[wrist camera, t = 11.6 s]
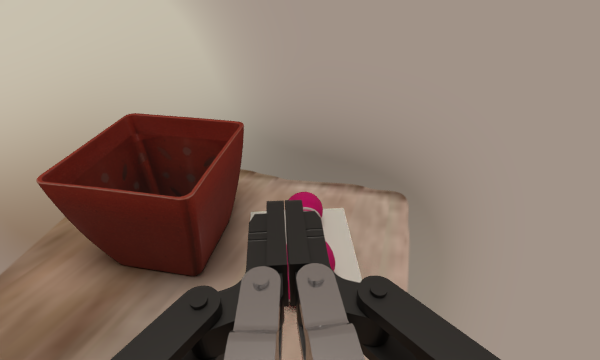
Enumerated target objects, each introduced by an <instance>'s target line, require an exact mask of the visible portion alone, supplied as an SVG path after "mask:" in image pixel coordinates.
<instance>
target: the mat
mask: <svg viewBox="0 0 600 360" xmlns="http://www.w3.org/2000/svg"><path fill="white" fill-rule="evenodd" d="M265 213H267V211H262V212H251V217H250V221H251V219H252V217H253V216H254V214H265ZM284 216H285V211H284ZM321 221H322V226H323V231H324V237H325V241H326V242H327V243H328V245H329V246H330V248H331V249H332V251H333V254H334V257H335V270H334V272H335V273H336V274H337V275H338V276H340V277H341V278H343V279H346V280H350V281H354V282H359V283H360V282H361V281H362V278H361V274H360V270H359V266H358V262H357V258H356V255H355V251H354V247H353V243H352V239H351V235H350V231H349V227H348V224H347V220H346V216H345V212H344V208H331V209H323V214H322V218H321ZM285 233H286V217H285ZM286 244H287V241H286ZM289 302H290V300H289Z"/></svg>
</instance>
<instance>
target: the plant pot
mask: <svg viewBox="0 0 600 360" xmlns="http://www.w3.org/2000/svg"><path fill="white" fill-rule="evenodd" d="M243 133H244V125H243V123H241V122H235V121H225V120H214V119H202V118H189V117H176V116H162V115H149V114H136V113H135V114H129V115H126V116H124V117H123V118H121V119H120V120H118V121H117V122H115V123H114V124H113V125H111V126H110V127H108V128H107V129H105V130H104V131H103V132H101V133H100V134H99V135H97V136H96V137H94V138H93V139H91V140H90V141H88V142H87V143H86V144H84V145H83V146H81V147H80V148H79V149H77V150H76V151H74V152H73V153H72V154H70V155H69V156H67V157H66V158H64V159H63V160H61V161H60V162H59V163H57V164H56V165H55V166H53V167H52V168H50V169H49V170H47V171H46V172H44V173H43V174H42V175H40V176H39V177H38V178H37V183H38V184H39V185H40V187H41V188H42V189H43V190H44V192H45V193H46V195H47V196H48V197H49V198H50V199H51V200H52V202H53V203H54V204H55V205H56V206H57V207H58V209H59V210H60V211H61V212H62V213H63V214H64V215H65V217H66V218H67V219H68V220H69V221H70V222H71V223H72V224H73V225H74V226H75V227H76V228H77V229H78V230H79V231H80V232H81V233H83V234H84V235H85V236H86V237H87V238H88V239H89V240H90V241H91V242H93V243H94V244H95V245H96V246H97V247H99V248H100V249H101V250H102V251H104V252H105V253H106V254H108V255H109V256H110V257H111V258H113V259H114V260H116V261H117V262H119V263H120V264H122V265H127V266H134V267H140V268H146V269H152V270H158V271H165V272H171V273H177V274H183V275H190V276H195V275H198V274H200V273H201V272H202V270H203V269H204V267H205V265H206V263H207V261H208V259H209V257H210V256H211V254H212V252H213V250H214V248H215V246H216V244H217V243H218V241H219V239H220V237H221V235H222V233H223V231H224V230H225V228H226V226H227V224H228V222H229V219H230V216H231V212H232V208H233V204H234V200H235V195H236V191H237V185H238V180H239V174H240V167H241V158H242V148H243Z"/></svg>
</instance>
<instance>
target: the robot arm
mask: <svg viewBox="0 0 600 360" xmlns="http://www.w3.org/2000/svg"><path fill="white" fill-rule="evenodd" d="M285 217H286V233H285ZM286 241H287V249H286ZM287 257H288V266H287ZM288 273H289V289H290V304H291V306H296V312H297V329H298V335H299V341H300V347H301V354H302V360H365V359H364V356H363V354H364V355H365V356H366V357H367V358H368V359H369V360H500V359H499V358H498V357H496V356H495V355H493V354H492V353H491V352H489V351H488V350H486V349H485V348H484V347H482V346H481V345H479V344H478V343H477V342H475V341H474V340H472V339H471V338H469V337H468V336H467V335H465V334H464V333H463V332H461V331H460V330H458V329H457V328H456V327H454V326H453V325H451V324H450V323H449V322H447V321H446V320H444V319H443V318H442V317H440V316H439V315H437V314H436V313H435V312H433V311H432V310H431V309H429V308H428V307H426V306H425V305H424V304H422V303H421V302H419V301H418V300H417V299H415V298H414V297H412V296H411V295H410V294H408V293H407V292H405V291H404V290H403V289H401V288H400V287H398V286H397V285H396V284H394V283H393V282H391V281H390V280H388V279H387V278H384V277H381V276H369V277H366V278H364V279H363V280H362V281H361V282H360V283H359V282H354V281H350V280H346V279H343V278H341V277H340V276H338V275H337V274H336V273H335V272H334V271H333V270H332V268H331V266H330V263H329V258H328V252H327V247H326V242H325V237H324V231H323V226H322V221H321V218H320V217H319V216H318V214H317V213H316V212H315V211H303V204H302V200H285V216H284V201H267V213H265V214H254V216H253V217H252V219H251V221H250V222H249V234H248V250H247V265H246V273H245V275H244V276H243V278H242V280H241V281H240V282H239V283H237V284H236V285H234V286H232V287H230V288H228V289H225V290H222V291H219V292H217V290H215V289H214V288H212V287H209V286H198V287H194V288H192V289H190V290H188V291H187V292H186V293H185V294H183V295H182V296H181V297H180V298H179V299H178V300H177V301H176V302H174V303H173V304H172V305H171V306H170V307H169V308H168V309H167V310H166V311H164V312H163V313H162V314H161V315H160V316H159V317H158V318H157V319H155V320H154V321H153V322H152V323H151V324H150V325H149V326H148V327H147V328H145V329H144V330H143V331H142V332H141V333H140V334H139V335H138V336H136V337H135V338H134V339H133V340H132V341H131V342H130V343H129V344H128V345H126V346H125V347H124V348H123V349H122V350H121V351H120V352H119V353H117V354H116V355H115V356H114V357H113V358H112V359H111V360H282V339H283V323H284V307H285V306H289V296H288Z"/></svg>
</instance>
